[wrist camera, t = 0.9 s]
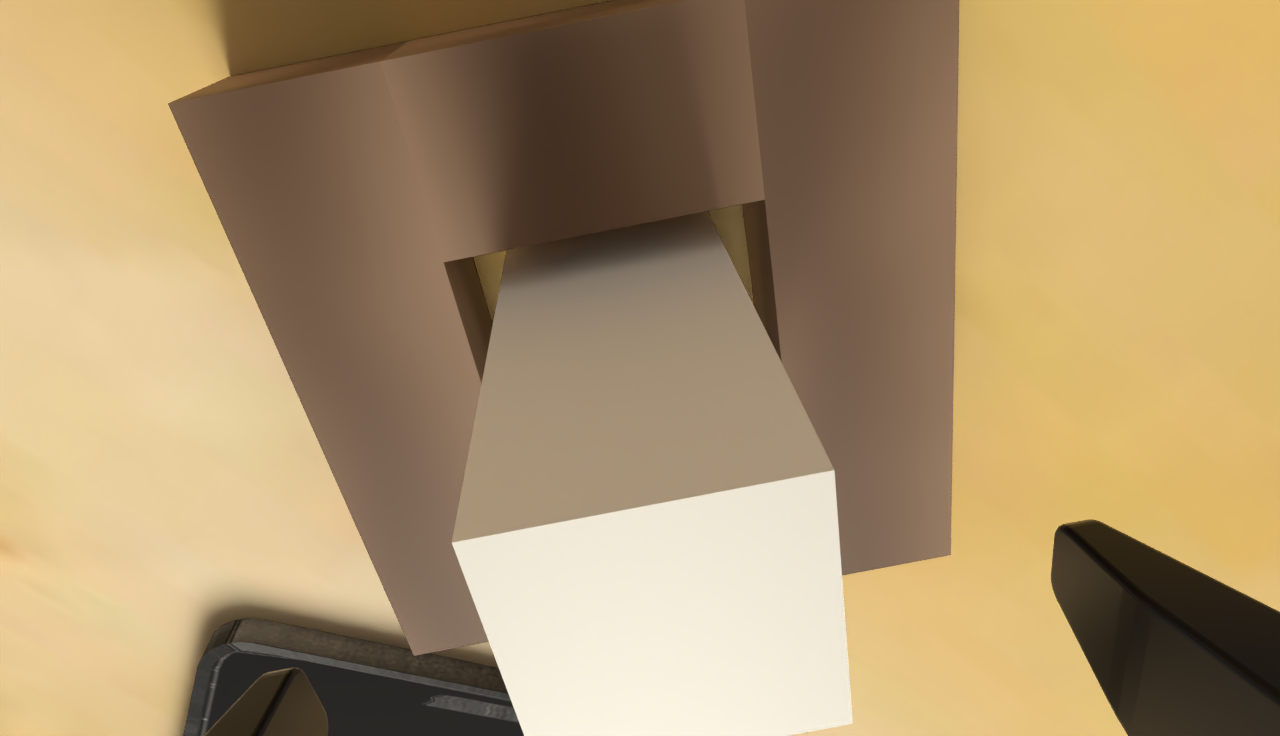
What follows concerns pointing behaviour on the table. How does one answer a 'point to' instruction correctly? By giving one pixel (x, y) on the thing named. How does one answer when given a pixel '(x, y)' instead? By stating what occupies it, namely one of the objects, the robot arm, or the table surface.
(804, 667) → the cream block
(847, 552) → the walnut square frame
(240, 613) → the table surface
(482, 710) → the phone
